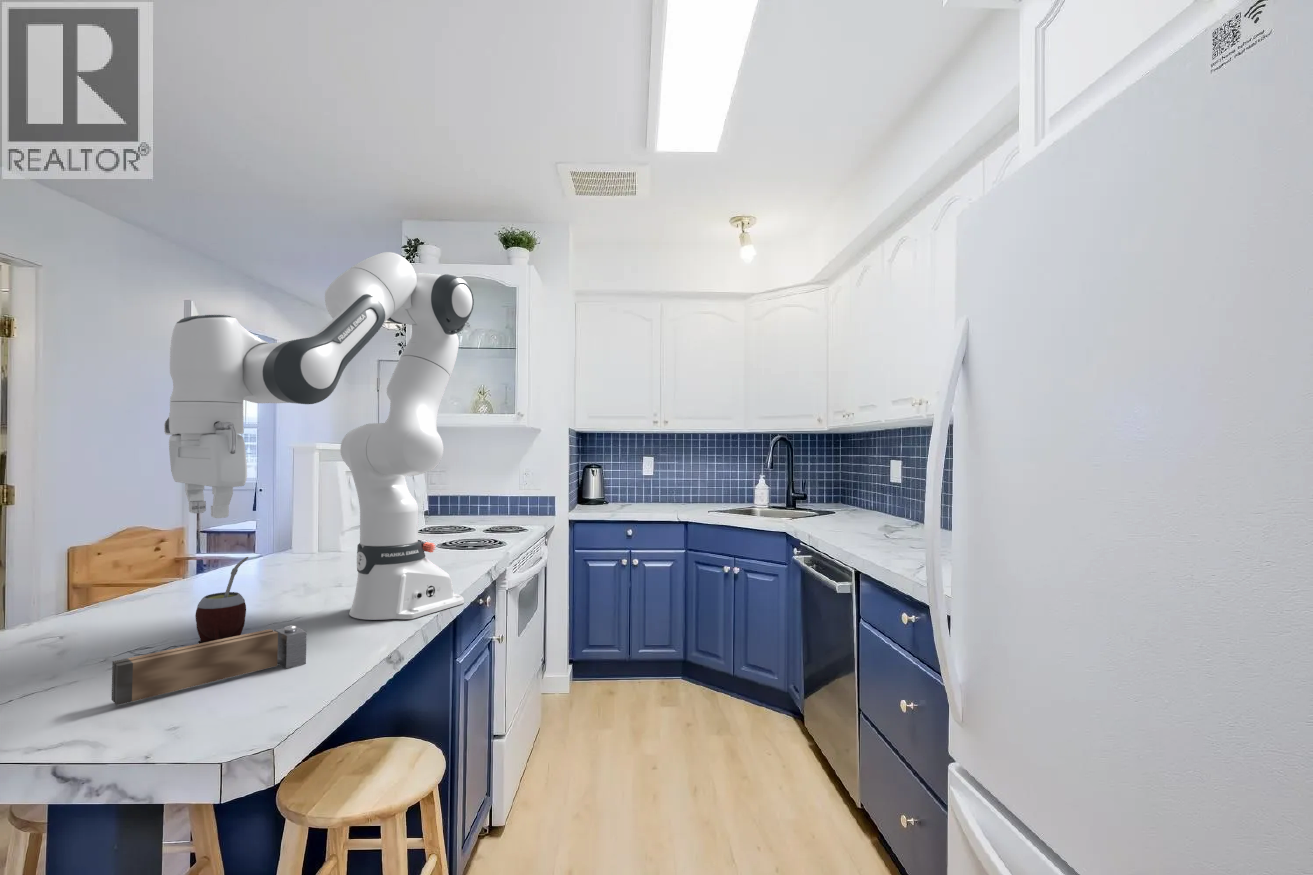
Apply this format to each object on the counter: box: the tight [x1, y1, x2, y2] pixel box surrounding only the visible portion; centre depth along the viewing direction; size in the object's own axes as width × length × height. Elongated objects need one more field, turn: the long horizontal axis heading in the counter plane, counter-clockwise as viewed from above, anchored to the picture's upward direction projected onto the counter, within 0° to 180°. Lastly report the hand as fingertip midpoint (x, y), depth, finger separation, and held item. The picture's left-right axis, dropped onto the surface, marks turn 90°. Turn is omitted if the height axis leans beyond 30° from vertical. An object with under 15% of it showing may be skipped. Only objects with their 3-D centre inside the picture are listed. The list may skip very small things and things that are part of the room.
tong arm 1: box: [110, 628, 274, 703], centre depth 86 cm, size 18×1×5 cm, turn 143°
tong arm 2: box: [113, 630, 278, 706], centre depth 85 cm, size 18×1×5 cm, turn 142°
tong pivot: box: [273, 624, 307, 670], centre depth 95 cm, size 3×5×6 cm, turn 52°
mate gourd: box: [194, 556, 249, 644], centre depth 105 cm, size 8×8×15 cm
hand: (208, 515), depth 90 cm, fingers open, 8 cm apart
